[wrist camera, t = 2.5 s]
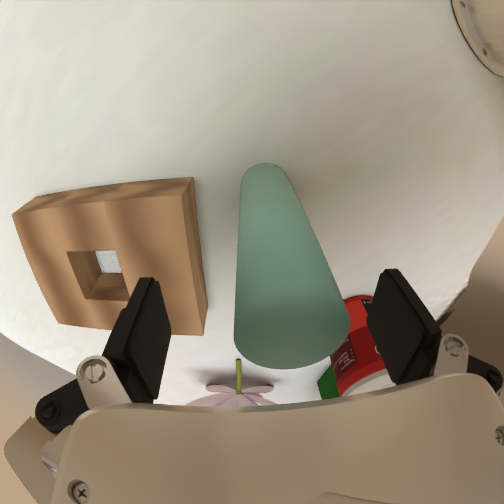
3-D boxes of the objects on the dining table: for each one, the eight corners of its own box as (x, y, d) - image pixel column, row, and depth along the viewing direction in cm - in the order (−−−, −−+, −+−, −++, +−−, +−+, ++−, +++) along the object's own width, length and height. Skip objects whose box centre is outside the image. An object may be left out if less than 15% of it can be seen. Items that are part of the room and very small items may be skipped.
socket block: (192, 177, 22) (181, 195, 18) (207, 304, 29) (203, 335, 25) (36, 196, 22) (11, 214, 18) (73, 299, 29) (58, 323, 25)
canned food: (388, 320, 32) (419, 388, 22) (334, 346, 34) (353, 418, 24) (374, 282, 28) (414, 359, 19) (311, 314, 30) (331, 397, 21)
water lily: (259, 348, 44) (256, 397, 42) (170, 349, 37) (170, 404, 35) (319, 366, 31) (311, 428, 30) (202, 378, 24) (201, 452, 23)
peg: (289, 163, 22) (362, 288, 8) (287, 208, 24) (337, 364, 10) (240, 163, 21) (230, 292, 8) (241, 208, 24) (236, 370, 10)
